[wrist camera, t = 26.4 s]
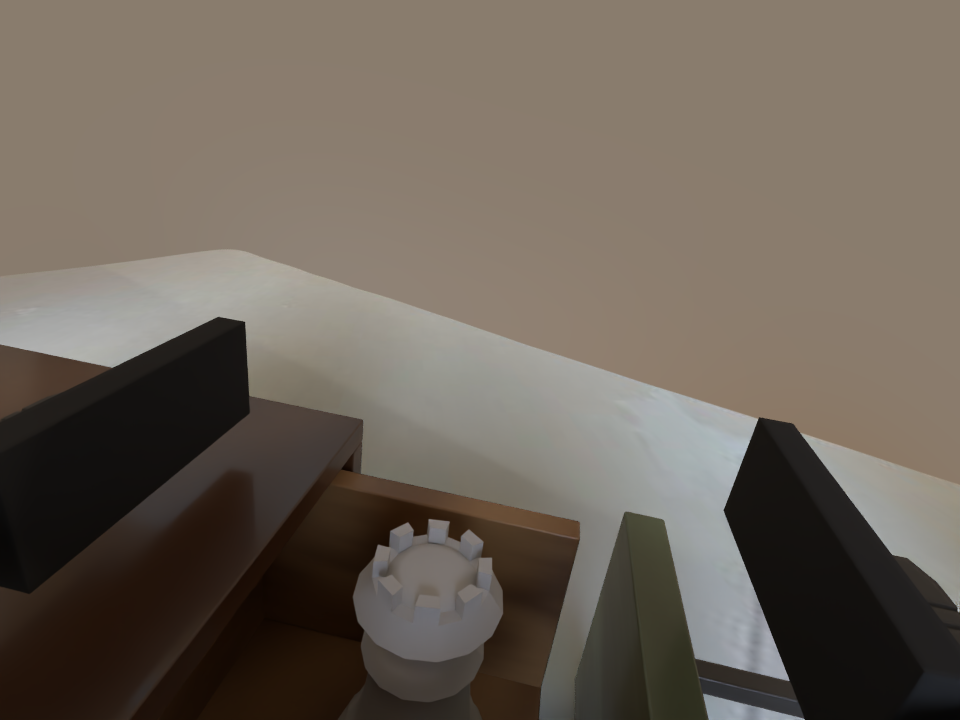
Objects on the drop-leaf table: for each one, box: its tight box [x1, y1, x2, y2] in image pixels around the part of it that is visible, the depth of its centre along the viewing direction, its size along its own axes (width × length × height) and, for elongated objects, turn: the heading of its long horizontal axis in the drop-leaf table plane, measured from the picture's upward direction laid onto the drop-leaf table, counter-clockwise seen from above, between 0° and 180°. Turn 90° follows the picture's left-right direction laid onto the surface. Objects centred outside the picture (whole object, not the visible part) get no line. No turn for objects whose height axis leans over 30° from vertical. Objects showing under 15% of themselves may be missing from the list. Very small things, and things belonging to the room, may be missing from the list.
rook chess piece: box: [338, 519, 503, 720], centre depth 13 cm, size 4×4×8 cm
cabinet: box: [0, 345, 363, 720], centre depth 15 cm, size 14×12×9 cm
